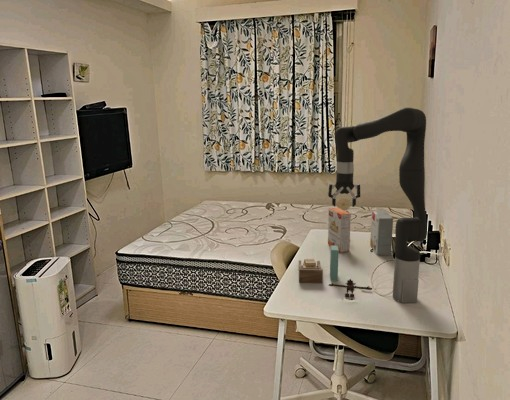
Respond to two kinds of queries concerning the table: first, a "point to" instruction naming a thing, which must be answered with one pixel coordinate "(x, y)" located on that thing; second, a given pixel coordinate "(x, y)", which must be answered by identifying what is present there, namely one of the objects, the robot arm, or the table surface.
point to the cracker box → (339, 229)
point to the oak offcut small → (309, 262)
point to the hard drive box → (381, 232)
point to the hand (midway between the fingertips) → (343, 206)
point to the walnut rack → (310, 274)
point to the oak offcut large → (308, 267)
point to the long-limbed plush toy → (350, 288)
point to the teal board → (334, 263)
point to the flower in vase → (343, 204)
